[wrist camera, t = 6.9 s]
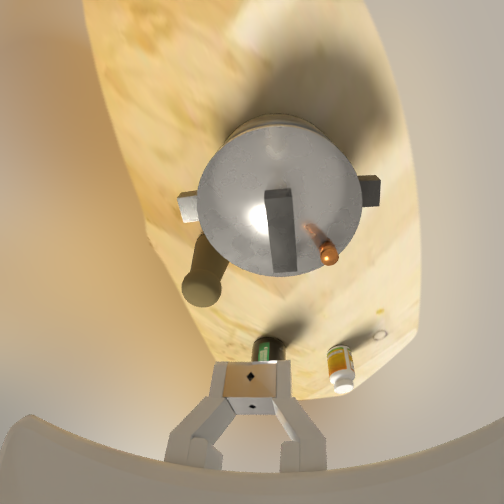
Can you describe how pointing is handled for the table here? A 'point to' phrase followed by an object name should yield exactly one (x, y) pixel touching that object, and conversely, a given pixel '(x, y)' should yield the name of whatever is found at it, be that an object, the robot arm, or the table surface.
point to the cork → (204, 275)
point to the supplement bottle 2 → (341, 368)
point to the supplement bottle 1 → (268, 350)
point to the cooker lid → (279, 201)
